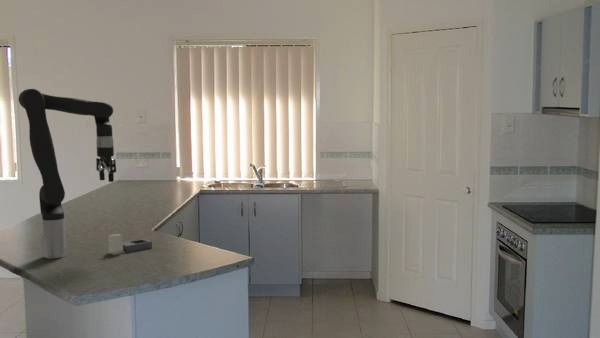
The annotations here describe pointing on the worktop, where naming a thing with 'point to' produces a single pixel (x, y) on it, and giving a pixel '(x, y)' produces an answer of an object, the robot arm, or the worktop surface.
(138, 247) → the grey holder tray
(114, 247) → the beige rectangular block
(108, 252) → the mat
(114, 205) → the worktop surface
